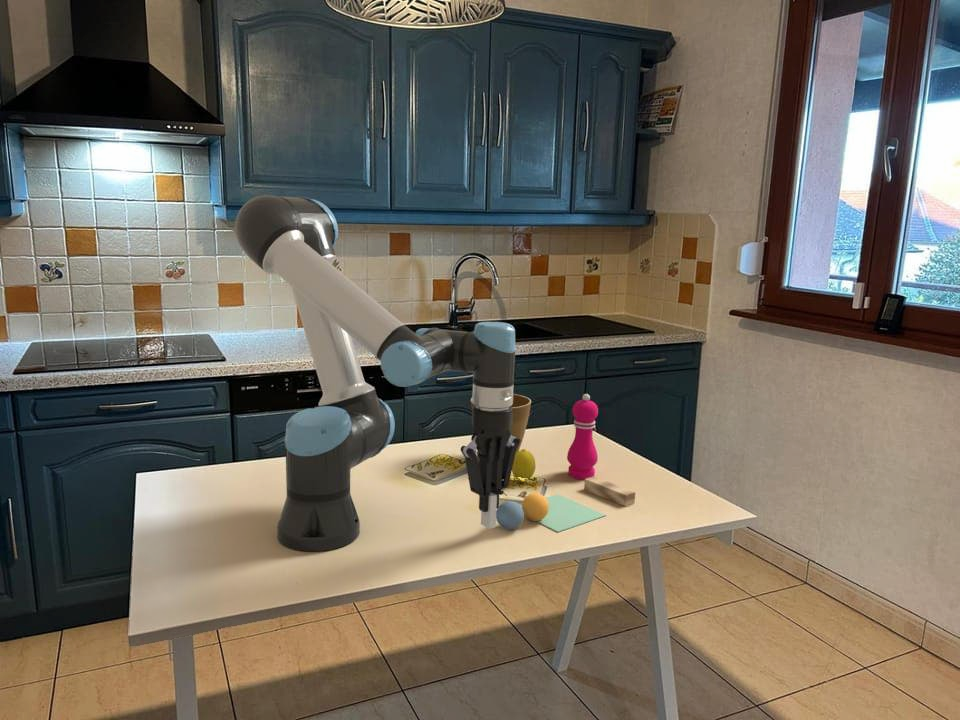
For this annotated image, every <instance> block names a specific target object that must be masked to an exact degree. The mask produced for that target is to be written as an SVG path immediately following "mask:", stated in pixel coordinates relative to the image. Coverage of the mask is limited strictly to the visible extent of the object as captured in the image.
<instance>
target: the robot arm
mask: <svg viewBox="0 0 960 720" xmlns="http://www.w3.org/2000/svg"><path fill="white" fill-rule="evenodd" d="M234 232H235V233H234V234H235V236H236V240H237V242H238V245H239V246H240V248H241V250H242V251H243V252H244V254H246V255H247V257H248V258H249V259H250V260H251V261H252V262H253V263H255V265H257V266H258V267H259V268H260V269H261V270H263V271H264V272H265V273H267V274H268V275H277V276H278V277H280V278H281V279H283V280H284V281H285V282H286V284H288V285H290V288H291V291H292V294H293V297H294V300H295V304H296V307H297V311H298V314H299V318H300V321H301V324H302V328H303V330H304V335H305V338H306V342H307V344H308V348H309V351H310V354H311V357H312V361H313V364H314V365H313V366H314V367H315V372H316V375H317V378H318V381H319V384H320V388H321V391H322V397H320V399H319V402H318V406H314V408H311V407H310V408H306V409H303V410H300V411H298V412H296V413H295V414H292V415H291V417H290V418H289V419H288V420H287V423H286V426H285V436H284V446H285V471H286V472H285V476H286V477H285V478H286V479H285V481H286V498H285V501H284V504H283V507H282V510H281V515H280V518H279V520H278V522H277V529H276V530H277V540H278V542H279V543H280V544H281V545H283V546H285V547H287V548H290V549H293V550H295V551H296V550H297V551H302V552H303V551H304V552H323V551H330V550H335V549H339V548H342V547H344V546H347V545H350V544H351V543H353V542H354V541H355V540H356V539H358V537H359V535H360V533H361V532H360V530H361V529H360V528H361V525H360V522H361V521H360V518H359V515H358V512H357V509H356V507H355V504H354V503H355V502H354V500H353V498H352V494H351V469H353V468H355V467H356V466H358V465H360V464H361V463H363V462H365V461H367V460H369V459H370V458H374V457H377V455H378V454H381V452H382V451H383V450H384V449H385V448H387V446H389V444H390V443H391V441H392V439H393V437H394V434H395V425H396V424H395V417H394V414H393V412H392V411H393V410H392V409H391V408H390V407H389V404H387V403H385V402H384V401H383V400H382V399H381V398H379V397H378V395H377V391H376V388H375V386H374V385H373V386H372V385H371V384H369V383H367V382H366V381H365V378H364V375H363V372H362V368H361V364H360V361H359V358H358V355H357V350H356V347H355V345H354V340H355V341H356V342H357V343H358V344H360V345H361V346H362V347H364V349H366V350H367V351H368V352H369V353H371V355H373V356H374V357H375V358H376V359H377V360H378V361H380V369H381V371H382V373H383V375H384V377H385V379H386V380H387V381H388V382H389V383H390V384H392V385H393V386H396V387H402V388H406V387H411V386H414V385H415V386H416V385H419V384H421V383H423V382H424V381H427V380H428V379H430V378H431V377H434V376H437V375H441V374H442V373H445V372H448V371H451V372H463V373H472V396H471V398H472V403H473V404H474V405H475V406H474V407H473V408H472V407H471V425H472V427H473V428H472V429H473V432H472V435H471V441H470V442H469V443H468V444H467V445H462V446H461V447H460V452H461V454H462V455H463V457H464V462H465V467H466V472H467V478H468V484H469V489H470V491H471V492H472V493H474V494H476V495H477V496H478V502H479V503H478V509H479V510H480V525H481V526H483V527H484V528H485V527H486V528H487V529H488V530H491V529H494V528H497V520H496V511H497V508H498V507H499V505H500V496H502V495H503V494H504V489H508V487H509V484H510V480H511V475H512V467H513V462H514V458H515V453H516V450H517V448H518V446H519V444H520V439H518V438H516V437H513V436H512V435H511V431H510V428H511V426H512V415H513V409H512V408H511V407H510V406H511V405H512V404H513V394H514V385H515V384H514V382H515V380H514V378H515V363H516V351H517V347H516V329H515V327H514V326H513V325H512V324H510V323H507V322H502V321H481V322H478V323H476V324H475V326H474V330H473V331H461V330H452V329H451V330H449V329H442V328H439V327H432V328H427V327H426V328H424V327H423V328H418V329H417V330H416V331H415V332H414V331H413V330H411V329H410V328H409V327H408V326H407V325H405V324H404V323H403V322H402V321H401V320H399V319H398V318H397V317H396V316H394V315H393V314H392V313H391V312H390V311H388V310H387V309H386V308H385V307H384V306H383V305H381V304H380V303H379V302H377V301H376V300H375V299H374V298H373V297H372V296H370V295H369V294H368V293H367V292H366V291H364V290H363V289H362V288H360V286H358V285H357V284H356V283H355V282H354V281H352V280H351V279H350V278H349V277H347V276H346V275H345V274H343V273H342V272H341V271H340V270H339V269H338V268H336V267H335V266H334V265H333V264H334V262H335V260H336V258H337V255H336V252H335V249H334V248H335V246H336V243H337V239H338V237H339V236H338V235H339V227H338V223H337V219H336V217H335V215H334V214H333V211H331V209H330V208H329V207H328V206H327V205H326V204H324V203H322V202H321V201H319V200H317V199H313V198H310V197H306V196H283V195H280V196H279V195H270V194H265V195H264V194H263V195H258V196H256V197H253V198H252V199H250V200H248V201H246V203H244V204H243V205H242V207H241V208H240V209H239V210H238V213H237V216H236V217H235V223H234Z"/></svg>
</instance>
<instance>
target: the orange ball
mask: <svg viewBox="0 0 960 720" xmlns="http://www.w3.org/2000/svg"><path fill="white" fill-rule="evenodd" d="M521 505H522V509H523V512H524V515H525V516H524V518H526V519H528V520H529V521H533V522H536V521H539V520H542V519H543V518H545V517H546V515H547V514H548V511H549V504H548V501H547V499H546V497H545V496H544V495H543V494H540V493H530V494H528V495H527V496H525V497H524V499H523V500H522V503H521Z"/></svg>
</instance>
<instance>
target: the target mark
mask: <svg viewBox="0 0 960 720" xmlns="http://www.w3.org/2000/svg"><path fill="white" fill-rule="evenodd" d="M545 498H546V499H547V501H548V504H549V511H548V514H547V515H546V517H545V518H543V519H542V520H539V521H535V523H538V524H539V525H542V526H543V527H545V528H548V529H550V530H552V531H554V532H555V533H561V532H562V531H567V530H569V529H573V528H575V527H579V526H580V525H584V524H587V523H590V522H592V521H595V520H598V519H600V518H605V517H606V516H607V514H604V513H603V512H600V511H598V510H595V509H593V508H591V507H588V506H586V505H584V504H581V503H579V502H577V501H574V500H572V499H571V498H568V497H566V496H563V495H560V494H559V493H556V494H553V495H550V496H547V497H545ZM519 505H520V506H521V507H522V504H519ZM524 517H525V515H524Z"/></svg>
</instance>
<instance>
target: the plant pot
mask: <svg viewBox="0 0 960 720" xmlns="http://www.w3.org/2000/svg"><path fill="white" fill-rule="evenodd" d="M531 405H532V400H531V398H529V397H527V396H524V395H520V394H516V393H513V404H512V405H511V406H510V407H511V408H512V409H513V415H512V426H511V428H510V431H511V435H512V436H513V437H516V438H518V439H520V444H519V446H518V448H517V450H516V453H517V452H518V451H520V449H521V445H522V443H523V440H524V437H525V433H526V429H527V425H528V421H529V416H530V411H531ZM470 406H471V409H472V408H473V407H474V406H475V405H474V404H473V403H472V397H471V398H470Z"/></svg>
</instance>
